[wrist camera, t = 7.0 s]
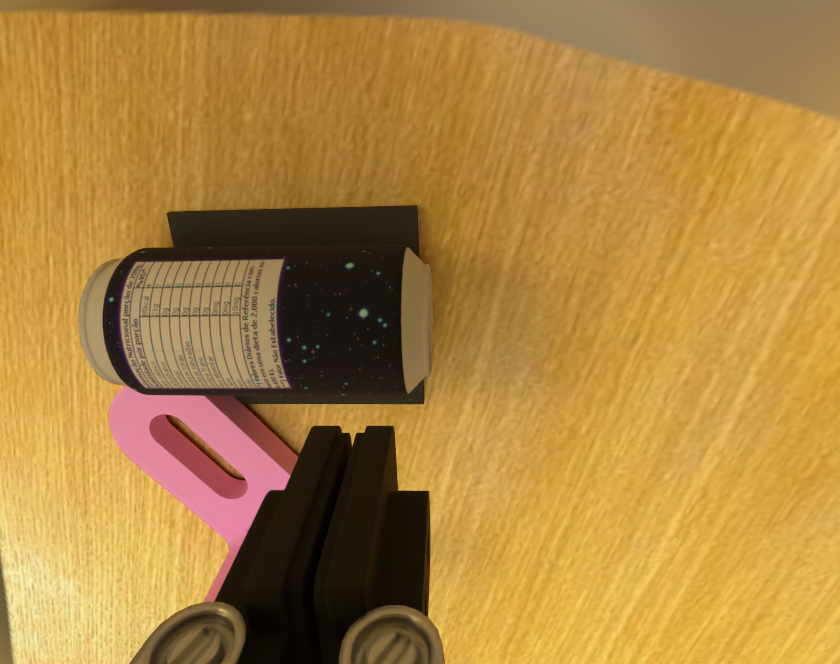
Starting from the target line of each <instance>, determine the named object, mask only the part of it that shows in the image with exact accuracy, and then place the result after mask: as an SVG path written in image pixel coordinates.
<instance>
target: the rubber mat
mask: <svg viewBox="0 0 840 664" xmlns="http://www.w3.org/2000/svg"><path fill="white" fill-rule="evenodd" d="M167 217H168V222H169V226H170V231H171V236H172V240H173V245H174V248H175V247H240V246H305V245H370V244H405V245H406V246H407V247H408V248H410V249H411V251H412V252H413V253H414V254H415V255H416V256H417V257H418V258H419V240H418V211H417V206H378V207H339V208H301V209H262V210H223V211H185V212H168V213H167ZM234 397H235V398H237V399H238V400H239V401H240V402H241V403H242V404H424V382H423V379H422V381H421V382H420V383H419V384H418V385H417V386H416V387H415V388H414V389H413V390H412V391H411V392H410V393H409V394H408V395H406V396H405V397H365V396H234Z"/></svg>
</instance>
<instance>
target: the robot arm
mask: <svg viewBox="0 0 840 664" xmlns="http://www.w3.org/2000/svg"><path fill="white" fill-rule="evenodd" d="M429 577H430V501H429V491H398V481H397V465H396V448H395V433H394V427H393V426H367V427H366V430H365V433H356V436H355V439H354V443H353V446H352V444H351V436H350V434H349V433H342V430H341V427H340V426H313V427H312V428H311V430H310V432H309V434H308V437H307V439H306V441H305V444H304V446H303V448H302V450H301V453H300V455H299V457H298V460H297V462H296V464H295V466H294V469H293V471H292V473H291V476H290V478H289V480H288V482H287V485H286V487H285V489H284V490H270V491H269V492H268V493H267V494H266V496H265V497H264V499H263V501H262V503H261V505H260V507H259V510H258V512H257V514H256V516H255V518H254V520H253V522H252V524H251V526H250V528H249V530H248V532H247V534H246V536H245V539H244V541H243V543H242V545H241V547H240V549H239V551H238V553H237V555H236V557H235V559H234V561H233V563H232V565H231V568H230V570H229V572H228V574H227V576H226V578H225V580H224V582H223V584H222V586H221V588H220V590H219V592H218V595H217V597H216V599H215V601H214V602H203V603H199V604H195V605H191V606H189V607H187V608H185V609H183V610H181V611H179V612H176V613H175V614H173V615H172V616H171V617H169V618H168V619H167V620H165V621H164V622H163V623H161V624H160V625H159V626H158V628H157V629H156V630H155V631H154V632H153V633H152V634H151V635H150V636H149V638H148V639H147V640H146V642H145V643H144V644H143V646H142V647H141V648H140V650H139V651H138V653H137V654H136V655H135V657H134V658H133V659H132V661H131V662H130V663H129V664H445V659H444V653H443V646H442V642H441V639H440V636H439V632H438V630H437V628H436V627H435V626H434V624H433V623H432V622H431V620H430V619H429V618H428V603H429Z"/></svg>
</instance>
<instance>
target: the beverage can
mask: <svg viewBox="0 0 840 664" xmlns="http://www.w3.org/2000/svg"><path fill="white" fill-rule="evenodd" d="M78 328H79V335H80V341H81V345H82V348H83V351H84V353H85V356H86V358H87V360H88V362H89V364H90V365H91V367H92V368H93V369H94V371H95V372H96V373H97V374H98V375H99V376H100V377H101V378H103V379H104V380H106V381H108V382H110V383H113V384H117V385H126V386H128V387H129V388H131V389H133V390H135V391H137V392H139V393H141V394H144V395H188V396H365V397H405V396H406V395H408V394H409V393H410V392H411V391H412V390H413V389H414V388H415V387H416V386H417V385H418V384H419V383H420V382H421V381H422V379H424V378H425V377H429V376H430V375H431V368H432V347H433V303H432V278H431V268H430V265H429V264H425V263H423V262H422V261H421V260H420V259H419V258H418V257H417V256H416V255H415V254H414V253H413V252H412V251H411V249H410V248H408V247H407V246H406V245H405V244H370V245H305V246H240V247H175V248H143V249H140V250H137V251H135V252H133V253H131V254H130V255H128V256H126V257H125V258H123V259H113V260H110V261H107V262H105V263H104V264H102V265H100V266H99V267H98V268H97V269H96V270H95V271H94V272H93V274H92V275H91V276H90V278H89V279H88V281H87V283H86V285H85V287H84V290H83V293H82V296H81V300H80V305H79V314H78Z"/></svg>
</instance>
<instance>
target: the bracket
mask: <svg viewBox="0 0 840 664" xmlns="http://www.w3.org/2000/svg"><path fill="white" fill-rule="evenodd" d="M165 414H166V415H172V416H174V417H176V418H178V419H180V420H181V421H182V422H183V423H184V424H186V425H187V426H188V427H189V428H190V429H191V430H192V431H193V432H194V433H196V434H197V435H198V436H199V437H200V438H201V439H202V440H203V441H205V442H206V443H207V444H208V445H209V446H210V447H211V448H212V449H213V450H215V451H216V452H217V453H218V454H219V455H220V456H221V457H222V458H224V459H225V460H226V461H227V462H228V463H229V464H230V465H231V466H232V467H234V468H235V469H236V470H237V471H238V472H239V473H240V474H241V475H242V476H243V477H244V478H245V479H246V480H237V479H234V478H232V477H230V476H229V475H228V474H227V473H225V472H224V471H223V470H222V469H221V468H220V467H219V466H218V465H216V464H215V463H214V462H213V461H212V460H211V459H210V458H208V457H207V456H206V455H205V454H204V453H203V452H202V451H201V450H199V449H198V448H197V447H196V446H195V445H194V444H193V443H192V442H190V441H189V440H188V439H187V438H186V437H185V436H184V435H183V434H181V433H180V432H179V431H178V430H177V429H176V428H175V427H174V426H172V425H171V424H170V423H169V421H168V420H167V418H166V415H165ZM109 423H110V428H111V432H112V435H113V437H114V439H115V441H116V443H117V444H118V446H119V448H120V449H121V450H122V451H123V453H124V454H125V455H126V456H127V457H128V458H129V459H130V460H131V461H133V462H134V463H135V464H136V465H137V466H138V467H140V468H141V469H142V470H143V471H144V472H146V473H147V474H148V475H149V476H150V477H152V478H153V479H154V480H155V481H156V482H158V483H159V484H160V485H161V486H162V487H164V488H165V489H166V490H167V491H168V492H170V493H171V494H172V495H173V496H174V497H175V498H177V499H178V500H179V501H180V502H181V503H183V504H184V505H185V506H186V507H187V508H189V509H190V510H191V511H192V512H193V513H195V514H196V515H197V516H198V517H199V518H201V519H202V520H203V521H204V522H205V523H207V524H208V525H209V526H210V527H211V528H212V529H214V530H215V531H216V532H217V533H218V534H220V535H221V536H222V537H223V538H224V539H225V540H226V541H227V542H228V545H229V553H228V555H227V557H226V559H225V561H224V563H223V565H222V567H221V569H220V571H219V573H218V575H217V577H216V578H215V580H214V582H213V584H212V586H211V588H210V590H209V592H208V594H207V596H206V598H205V600H204V602H214V601H215V599H216V597H217V595H218V592H219V590H220V588H221V586H222V584H223V582H224V580H225V578H226V576H227V574H228V572H229V570H230V568H231V565H232V563H233V561H234V559H235V557H236V555H237V553H238V551H239V549H240V547H241V545H242V543H243V541H244V539H245V536H246V534H247V532H248V530H249V528H250V526H251V524H252V522H253V520H254V518H255V516H256V514H257V512H258V510H259V507H260V505H261V503H262V501H263V499H264V497H265V496H266V494H267V493H268V492H269V491H270V490H284V489H285V487H286V485H287V482H288V480H289V478H290V476H291V473H292V471H293V469H294V466H295V464H296V462H297V460H298V456H297V455H296V454H295V453H294V452H292V451H291V450H290V449H289V448H288V447H287V446H286V445H285V444H284V443H283V442H282V441H281V440H280V439H279V438H278V437H277V436H276V435H275V434H273V433H272V432H271V431H270V430H269V429H268V428H267V427H266V426H265V425H264V424H263V423H262V422H261V421H260V420H259V419H258V418H257V417H256V416H254V415H253V414H252V413H251V412H250V411H249V410H248V409H247V408H246V407H245V406H244V405H243V404H242V403H241V402H240V401H239V400H238V399H237V398H235V397H234V396H188V395H144V394H141V393H139V392H137V391H135V390H133V389H131V388H129V387H128V386H125V387H124V388H123V389H121V390H120V391H119V392H118V394H117V395H116V396H115V398H114V399H113V401H112V404H111V407H110V411H109Z"/></svg>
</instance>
